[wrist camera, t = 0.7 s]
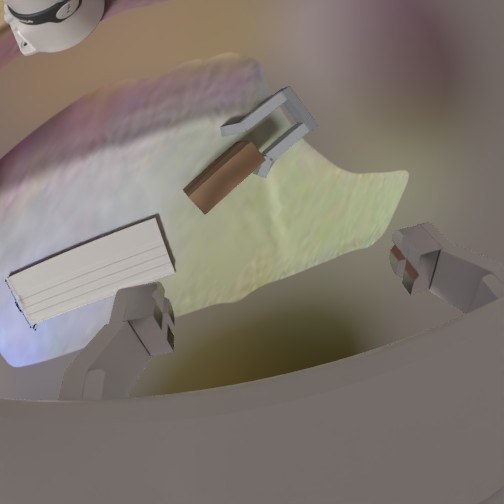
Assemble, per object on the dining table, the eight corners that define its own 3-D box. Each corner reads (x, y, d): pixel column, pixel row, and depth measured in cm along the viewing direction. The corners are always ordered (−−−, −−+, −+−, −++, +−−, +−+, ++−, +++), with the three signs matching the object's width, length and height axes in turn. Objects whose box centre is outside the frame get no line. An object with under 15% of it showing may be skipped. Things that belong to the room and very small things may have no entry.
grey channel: (216, 130, 48) (221, 128, 45) (276, 83, 48) (284, 80, 45) (257, 179, 53) (264, 181, 50) (312, 132, 53) (322, 131, 50)
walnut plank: (182, 189, 50) (188, 196, 43) (236, 142, 50) (251, 141, 43) (196, 205, 51) (205, 214, 44) (249, 158, 52) (266, 160, 44)
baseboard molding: (177, 277, 55) (155, 215, 50) (178, 284, 52) (155, 219, 48) (37, 328, 49) (9, 275, 44) (33, 336, 46) (3, 281, 41)
